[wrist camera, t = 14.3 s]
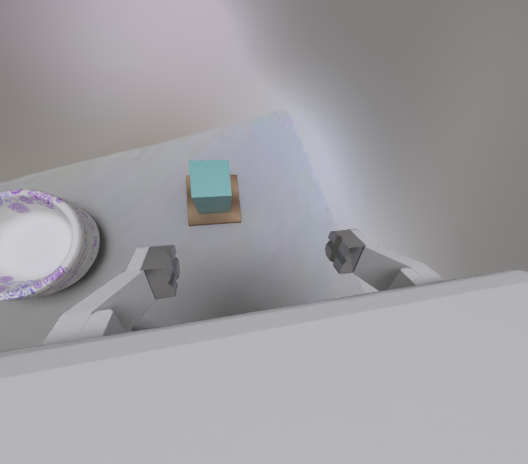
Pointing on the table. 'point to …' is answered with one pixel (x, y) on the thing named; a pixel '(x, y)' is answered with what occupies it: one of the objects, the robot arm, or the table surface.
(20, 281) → the paper bowls
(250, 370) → the robot arm
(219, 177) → the teal rectangular block
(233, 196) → the tan square base plate
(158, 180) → the table surface
